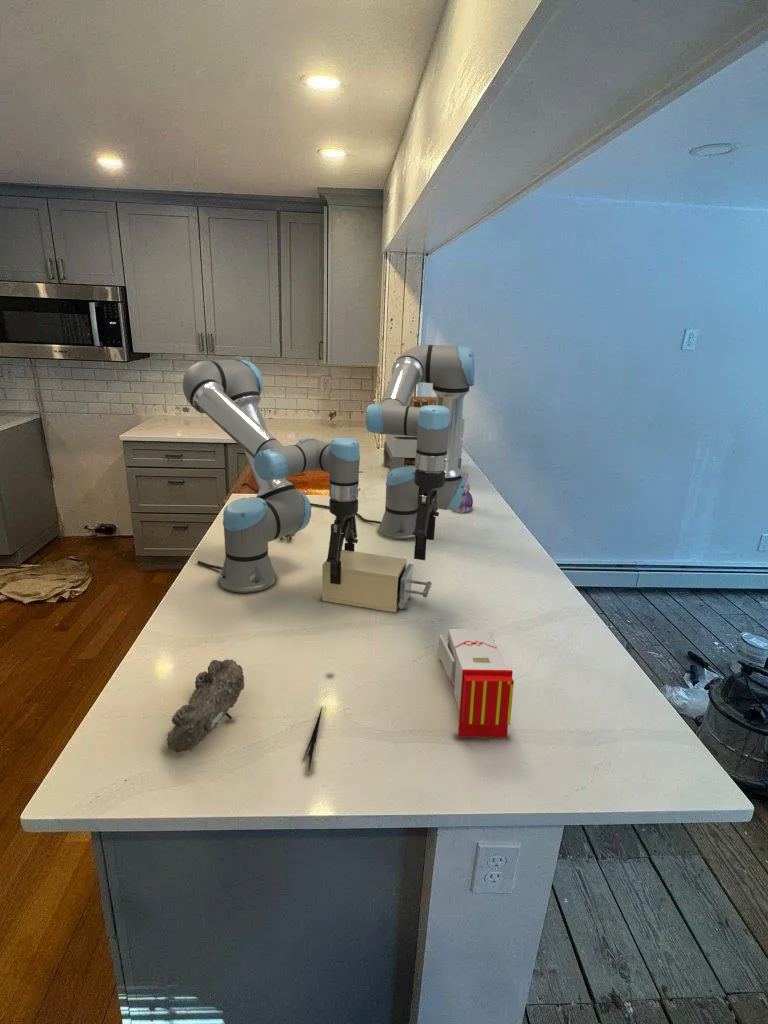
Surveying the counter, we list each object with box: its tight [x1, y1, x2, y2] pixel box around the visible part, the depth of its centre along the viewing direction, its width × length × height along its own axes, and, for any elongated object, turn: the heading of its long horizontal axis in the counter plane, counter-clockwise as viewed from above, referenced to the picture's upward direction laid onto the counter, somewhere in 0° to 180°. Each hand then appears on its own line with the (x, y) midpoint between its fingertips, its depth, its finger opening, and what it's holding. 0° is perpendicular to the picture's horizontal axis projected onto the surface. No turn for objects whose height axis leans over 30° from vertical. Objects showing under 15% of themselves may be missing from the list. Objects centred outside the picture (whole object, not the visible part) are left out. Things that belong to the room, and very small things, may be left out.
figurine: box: [453, 472, 474, 514], centre depth 225 cm, size 9×10×15 cm
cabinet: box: [321, 549, 408, 613], centre depth 154 cm, size 20×11×10 cm, turn 76°
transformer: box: [383, 395, 465, 472], centre depth 268 cm, size 34×33×41 cm
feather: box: [301, 673, 332, 771], centre depth 108 cm, size 2×28×2 cm
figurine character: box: [279, 533, 296, 542], centre depth 193 cm, size 7×8×15 cm
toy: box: [437, 628, 515, 738], centre depth 117 cm, size 12×13×30 cm
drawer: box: [397, 563, 433, 610], centre depth 153 cm, size 25×10×8 cm, turn 76°
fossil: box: [166, 658, 245, 754], centre depth 106 cm, size 22×10×15 cm
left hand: (342, 573), depth 155 cm, fingers closed on cabinet, 11 cm apart
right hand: (424, 548), depth 147 cm, fingers open, 13 cm apart
